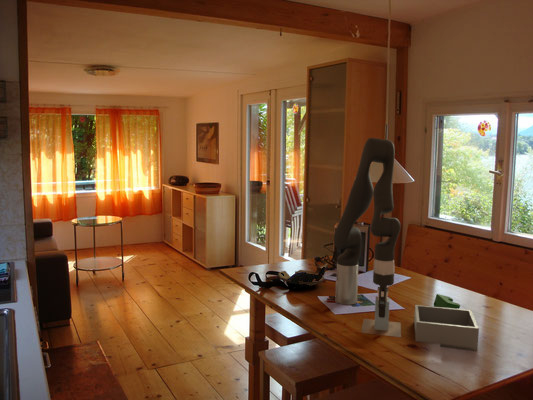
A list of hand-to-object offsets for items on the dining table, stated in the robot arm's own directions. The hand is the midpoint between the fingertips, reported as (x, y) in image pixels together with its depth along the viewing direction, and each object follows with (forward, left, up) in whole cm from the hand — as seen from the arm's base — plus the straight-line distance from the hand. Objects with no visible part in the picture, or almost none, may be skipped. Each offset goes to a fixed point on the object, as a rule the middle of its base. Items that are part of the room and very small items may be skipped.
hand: (382, 313), depth 175 cm
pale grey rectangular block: (0, 0, -6) cm, 6 cm away
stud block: (0, 0, -7) cm, 7 cm away
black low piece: (-38, +48, -7) cm, 62 cm away
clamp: (+25, +28, -7) cm, 39 cm away
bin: (+22, 0, -7) cm, 23 cm away
